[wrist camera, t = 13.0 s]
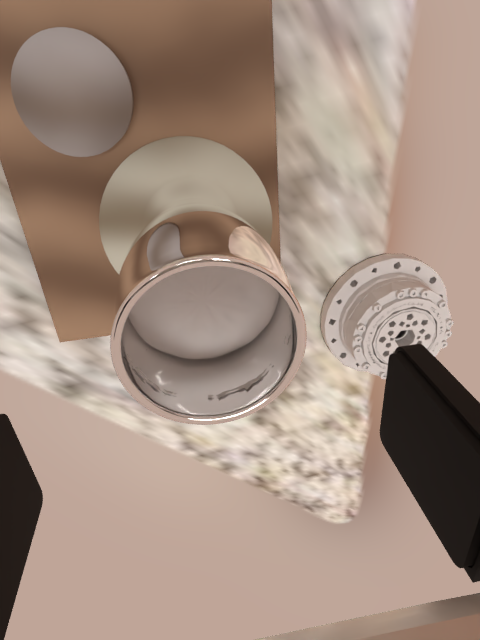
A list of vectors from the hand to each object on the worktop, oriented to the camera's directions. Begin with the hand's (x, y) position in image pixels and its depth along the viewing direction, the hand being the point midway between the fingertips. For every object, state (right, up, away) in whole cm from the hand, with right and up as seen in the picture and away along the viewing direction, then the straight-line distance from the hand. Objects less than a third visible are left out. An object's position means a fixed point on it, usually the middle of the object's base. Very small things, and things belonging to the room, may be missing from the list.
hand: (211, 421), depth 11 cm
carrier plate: (-5, +11, +16) cm, 21 cm away
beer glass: (-2, +9, +17) cm, 19 cm away
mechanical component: (+12, +3, +24) cm, 27 cm away
